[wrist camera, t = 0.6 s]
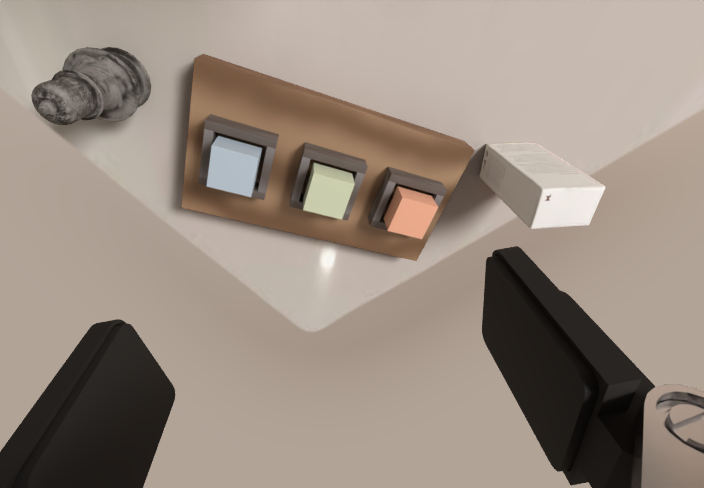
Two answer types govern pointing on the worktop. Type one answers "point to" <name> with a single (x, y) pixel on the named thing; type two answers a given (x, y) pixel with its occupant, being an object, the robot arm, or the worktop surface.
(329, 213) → the green button
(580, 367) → the robot arm
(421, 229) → the terracotta button
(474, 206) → the worktop surface
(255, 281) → the worktop surface
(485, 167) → the skincare box
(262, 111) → the console
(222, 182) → the blue button
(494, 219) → the worktop surface
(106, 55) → the dark grey figurine
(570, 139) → the worktop surface
